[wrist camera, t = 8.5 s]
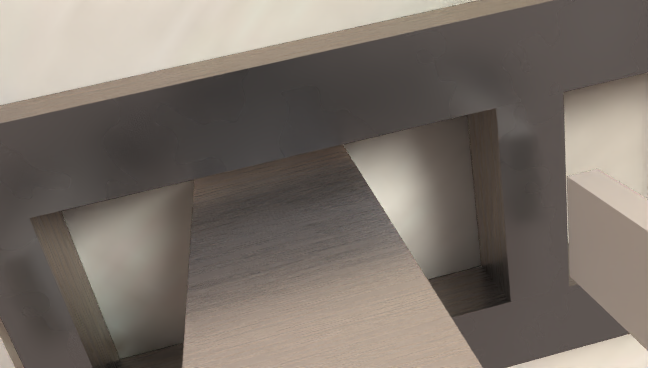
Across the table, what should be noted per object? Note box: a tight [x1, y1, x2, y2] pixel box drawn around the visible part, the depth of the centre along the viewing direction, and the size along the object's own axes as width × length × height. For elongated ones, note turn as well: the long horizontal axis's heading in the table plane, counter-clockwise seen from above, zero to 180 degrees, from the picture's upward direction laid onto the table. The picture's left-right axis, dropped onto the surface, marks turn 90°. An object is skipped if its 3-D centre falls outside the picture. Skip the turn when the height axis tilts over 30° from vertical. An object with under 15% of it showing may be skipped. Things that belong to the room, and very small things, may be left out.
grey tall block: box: [182, 144, 483, 368], centre depth 12 cm, size 4×4×10 cm
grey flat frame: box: [0, 0, 648, 368], centre depth 17 cm, size 10×22×2 cm, turn 101°
